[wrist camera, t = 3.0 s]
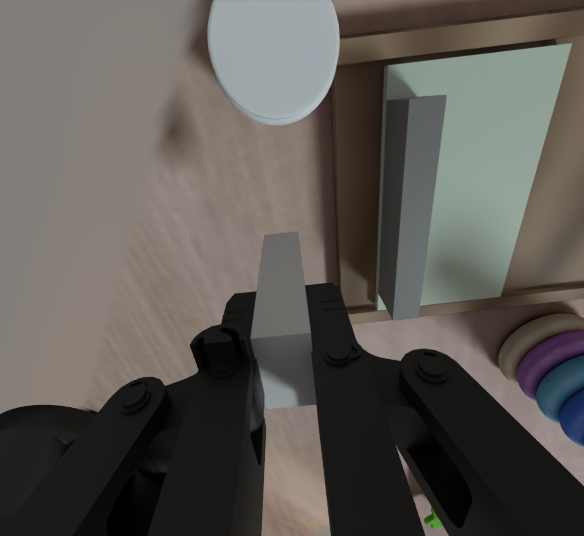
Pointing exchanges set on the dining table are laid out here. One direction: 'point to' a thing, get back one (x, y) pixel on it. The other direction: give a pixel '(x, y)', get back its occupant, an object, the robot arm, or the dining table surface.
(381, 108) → the wooden frame
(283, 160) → the dining table surface
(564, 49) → the lid
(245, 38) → the pill bottle
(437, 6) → the dining table surface
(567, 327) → the stacking toy
